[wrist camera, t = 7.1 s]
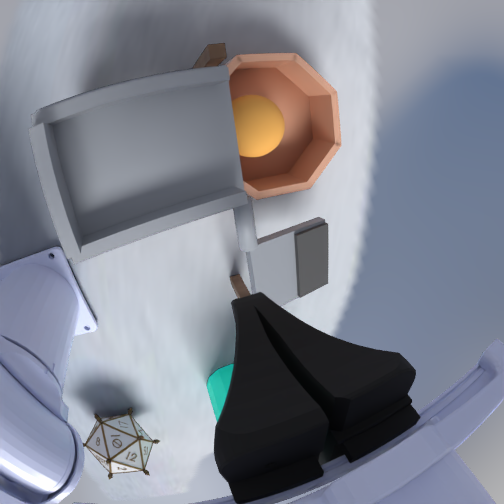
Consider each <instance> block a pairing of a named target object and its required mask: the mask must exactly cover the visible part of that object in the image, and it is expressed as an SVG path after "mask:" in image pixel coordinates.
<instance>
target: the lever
mask: <svg viewBox="0 0 504 504" xmlns="http://www.w3.org/2000/svg"><path fill="white" fill-rule="evenodd" d="M229 80H230V76H229V69H228V67H226V65H224V66H213V67H203V68H195V69H187V70H180V71H173V72H167V73H162V74H156V75H151V76H146V77H141V78H137V79H132V80H128V81H124V82H120V83H116V84H112V85H108V86H105V87H101V88H98V89H94V90H91V91H88V92H85V93H82V94H79V95H76V96H73V97H70V98H67V99H64V100H61V101H59V102H56V103H53V104H51V105H48V106H46V107H43V108H41V109H39V110H36V113H34V114H32V115H31V120H32V125H33V127H32V128H30V129H28V131H29V136H30V141H31V146H32V151H33V155H34V159H35V164H36V168H37V172H38V175H39V179H40V183H41V186H42V190H43V193H44V196H45V200H46V203H47V206H48V209H49V212H50V215H51V218H52V221H53V224H54V227H55V229H56V232H57V235H58V237H59V240H60V243H61V245H62V248H63V250H64V253H65V255H66V258H67V259H69V258H72V260H73V263H74V264H77V263H79V262H82V261H85V260H87V259H90V258H92V257H95V256H97V255H100V254H103V253H105V252H108V251H110V250H113V249H116V248H118V247H121V246H124V245H127V244H129V243H132V242H135V241H138V240H140V239H143V238H146V237H149V236H152V235H154V234H157V233H160V232H163V231H166V230H169V229H172V228H174V227H177V226H180V225H183V224H186V223H189V222H192V221H195V220H198V219H201V218H204V217H207V216H210V215H214V214H217V213H220V212H223V211H226V210H229V209H232V208H233V211H234V217H235V223H236V229H237V235H238V241H239V247H240V250H241V251H244V252H246V257H247V263H248V269H249V276H250V282H251V288H252V294H255V293H259V292H262V293H264V294H265V295H266V296H267V297H268V298H270V299H271V300H272V301H274V302H275V303H276V304H278V305H279V306H282V305H284V304H286V303H288V302H290V301H292V300H294V299H296V298H298V297H300V298H301V297H303V296H305V295H306V294H308V293H310V292H312V291H314V290H316V289H318V288H320V287H322V286H324V285H326V284H328V224H327V223H325V219H322V218H320V217H317V218H314V219H312V220H309V221H306V222H303V223H301V224H298V225H295V226H292V227H290V228H287V229H284V230H281V231H279V232H276V233H273V234H271V235H268V236H265V237H262V238H260V239H257V237H256V229H255V222H254V215H253V207H252V200H251V197H250V196H247V193H246V191H245V190H244V184H243V177H242V170H241V163H240V156H239V149H238V142H237V135H236V129H235V122H234V115H233V108H232V101H231V94H230V88H229Z"/></svg>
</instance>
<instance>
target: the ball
mask: <svg viewBox="0 0 504 504" xmlns="http://www.w3.org/2000/svg"><path fill="white" fill-rule="evenodd" d="M232 108H233V115H234V122H235V129H236V135H237V142H238V149H239V155H241V156H244V157H259V156H263V155H265V154H268V153H269V152H271V151H272V150H274V149H275V148H276V147H277V146H278V144H279V143H280V141H281V140H282V138H283V135H284V130H285V122H284V118H283V115H282V112H281V111H280V109H279V108H278V106H277V105H276V104H275V103H274V102H272V101H271V100H269V99H267V98H265V97H263V96H259V95H245V96H241V97H238V98H236V99H235V100H233V101H232Z"/></svg>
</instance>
